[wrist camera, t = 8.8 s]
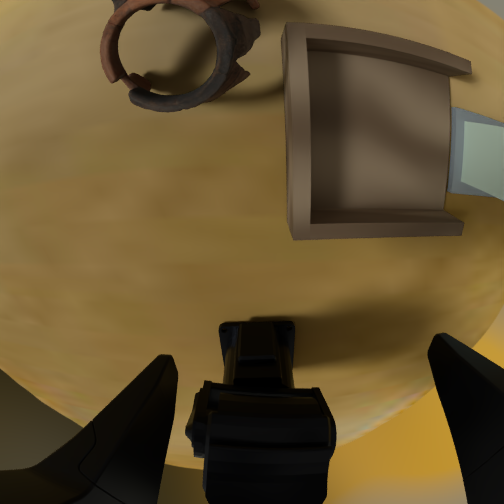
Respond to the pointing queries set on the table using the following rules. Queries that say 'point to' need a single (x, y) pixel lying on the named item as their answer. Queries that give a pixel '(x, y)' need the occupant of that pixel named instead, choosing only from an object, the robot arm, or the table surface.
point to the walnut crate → (366, 133)
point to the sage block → (484, 158)
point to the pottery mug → (227, 41)
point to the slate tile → (458, 147)
